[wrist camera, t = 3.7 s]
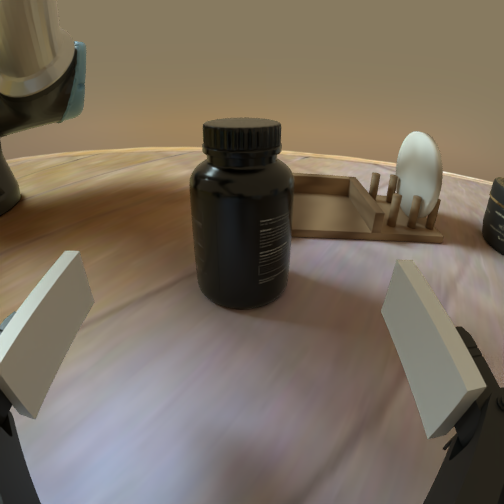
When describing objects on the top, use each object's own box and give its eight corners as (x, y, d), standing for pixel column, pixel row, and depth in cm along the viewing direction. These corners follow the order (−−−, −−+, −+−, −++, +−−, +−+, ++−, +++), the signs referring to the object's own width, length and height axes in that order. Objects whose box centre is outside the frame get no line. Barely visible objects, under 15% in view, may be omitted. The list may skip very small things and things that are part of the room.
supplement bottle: (273, 255, 28) (281, 114, 22) (298, 305, 23) (318, 131, 17) (193, 263, 27) (185, 116, 21) (201, 318, 21) (189, 133, 15)
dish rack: (261, 235, 31) (265, 122, 26) (260, 194, 41) (263, 109, 35) (441, 243, 31) (465, 148, 26) (405, 203, 41) (419, 127, 35)
